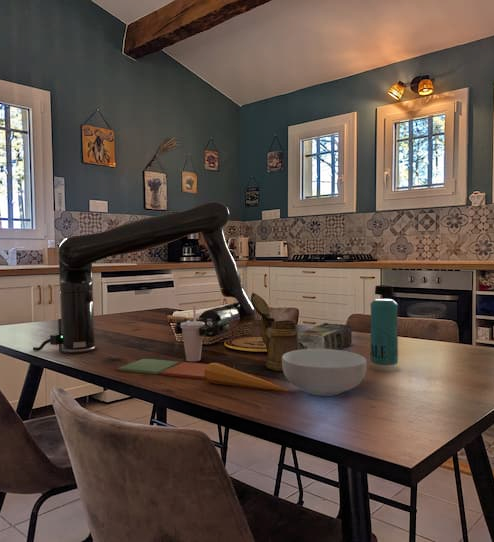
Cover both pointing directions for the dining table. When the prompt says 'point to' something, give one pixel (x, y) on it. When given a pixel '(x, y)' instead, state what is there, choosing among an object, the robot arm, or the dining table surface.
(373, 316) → the beverage bottle
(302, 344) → the grey patterned box
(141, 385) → the dining table surface
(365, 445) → the dining table surface
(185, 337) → the smoothie
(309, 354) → the cereal bowl
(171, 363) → the green mat
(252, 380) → the carrot
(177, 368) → the terracotta mat
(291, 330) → the wooden mug
